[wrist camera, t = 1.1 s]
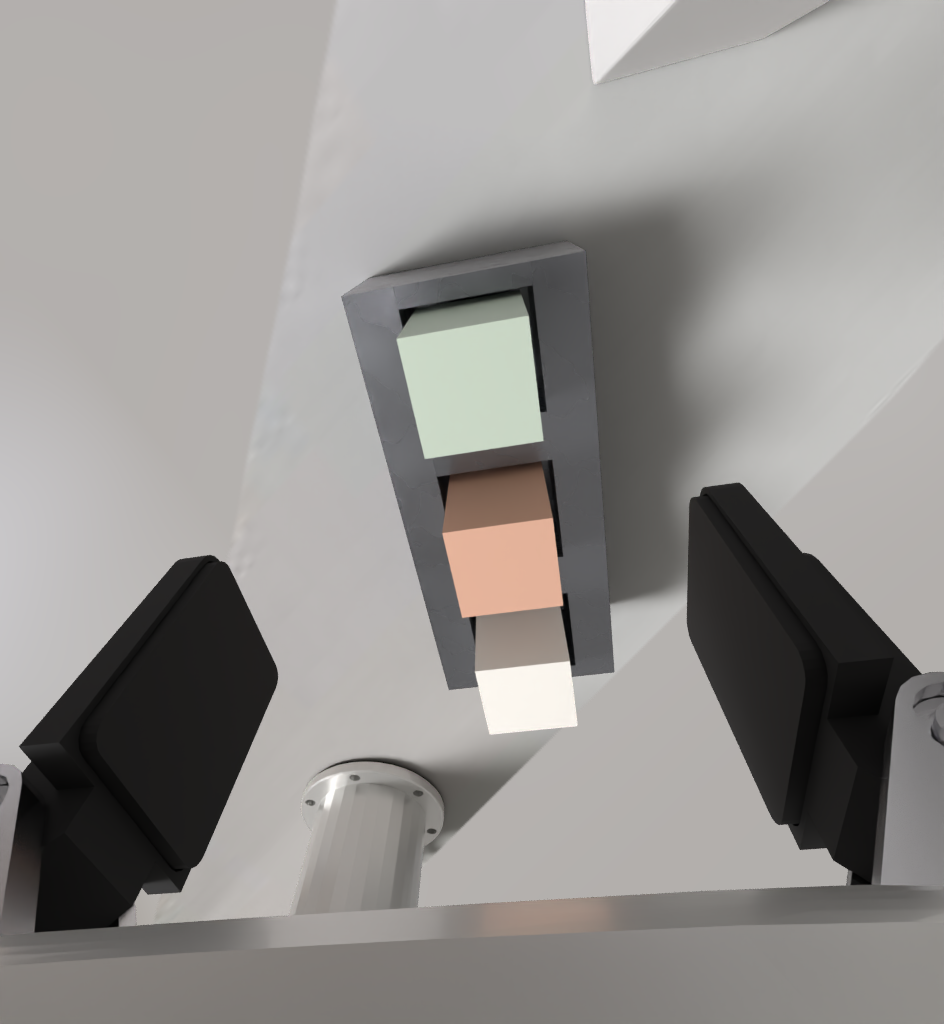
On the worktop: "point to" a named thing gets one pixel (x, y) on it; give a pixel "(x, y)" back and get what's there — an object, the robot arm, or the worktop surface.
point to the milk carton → (677, 30)
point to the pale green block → (472, 375)
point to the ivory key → (524, 671)
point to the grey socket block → (564, 452)
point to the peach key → (501, 540)
